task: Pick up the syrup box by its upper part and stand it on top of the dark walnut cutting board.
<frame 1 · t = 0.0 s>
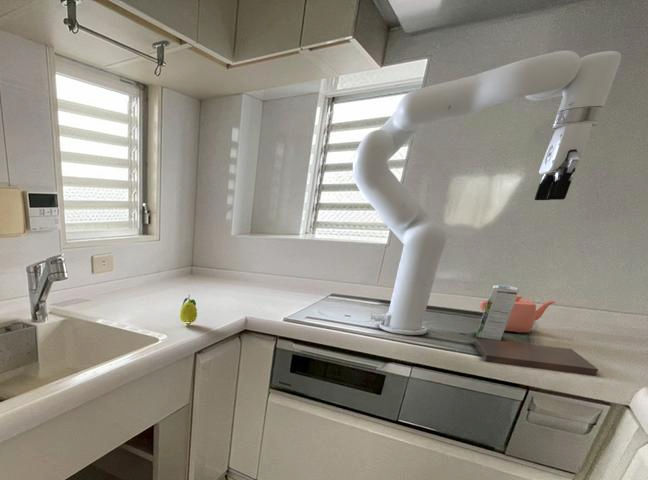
hand: (548, 199, 100), 37 cm above the countertop, tool pointing down, fingers open, 9 cm apart
cutting board: (527, 357, 101), on the countertop
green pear: (188, 325, 131), on the countertop
syrup box: (488, 337, 117), on the countertop
teapot: (508, 329, 125), on the countertop
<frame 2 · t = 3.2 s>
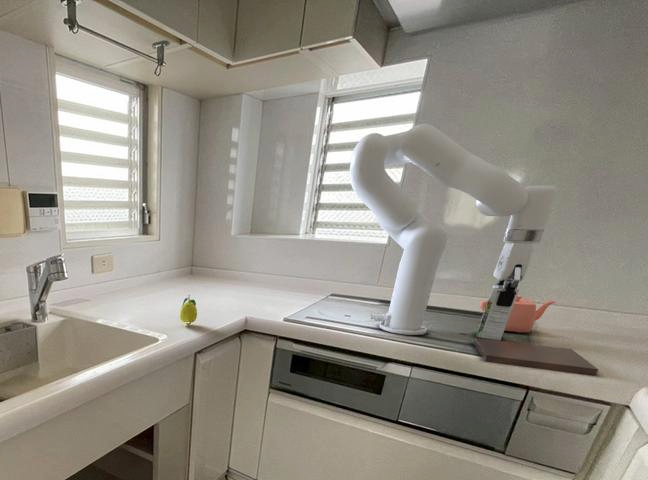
hand: (500, 303, 113), 10 cm above the countertop, tool pointing down, fingers closed on syrup box, 6 cm apart
syrup box: (488, 337, 117), on the countertop, touching gripper
everything else where it was.
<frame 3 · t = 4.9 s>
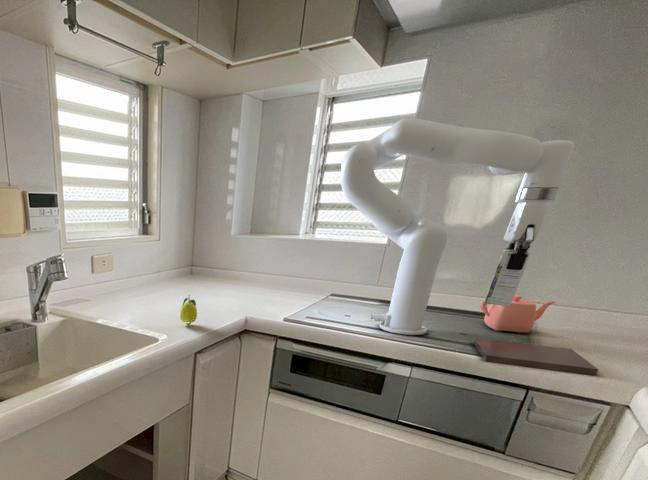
hand: (510, 267, 110), 20 cm above the countertop, tool pointing down, fingers closed on syrup box, 6 cm apart
syrup box: (497, 304, 114), point 10 cm above the countertop, touching gripper
everything else where it was.
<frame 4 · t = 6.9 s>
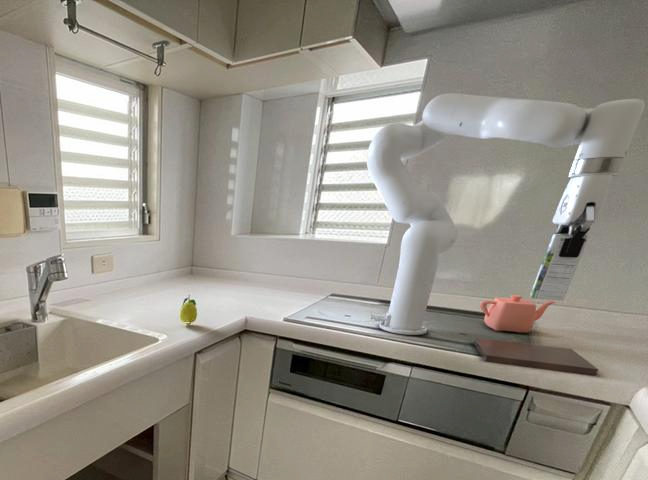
hand: (562, 254, 93), 25 cm above the countertop, tool pointing down, fingers closed on syrup box, 6 cm apart
syrup box: (546, 298, 97), point 15 cm above the countertop, touching gripper
everything else where it was.
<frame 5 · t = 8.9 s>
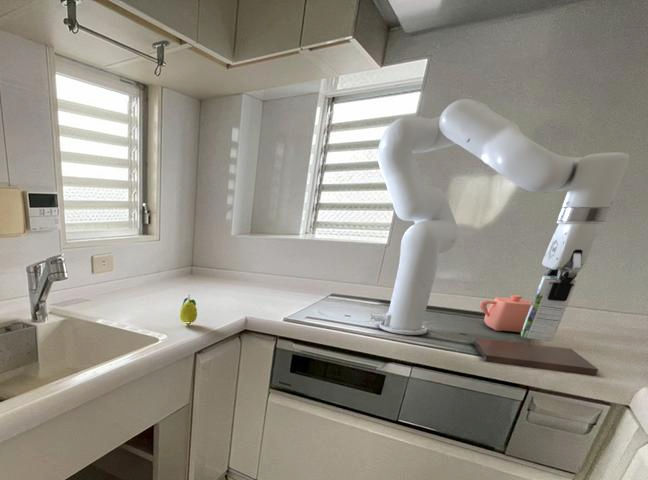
hand: (551, 296, 95), 15 cm above the countertop, tool pointing down, fingers closed on syrup box, 6 cm apart
syrup box: (535, 338, 99), point 5 cm above the countertop, touching gripper
everything else where it was.
when the fingers open (12 cm above the countertop, at t = 10.5 s): syrup box stays where it is, resting on cutting board.
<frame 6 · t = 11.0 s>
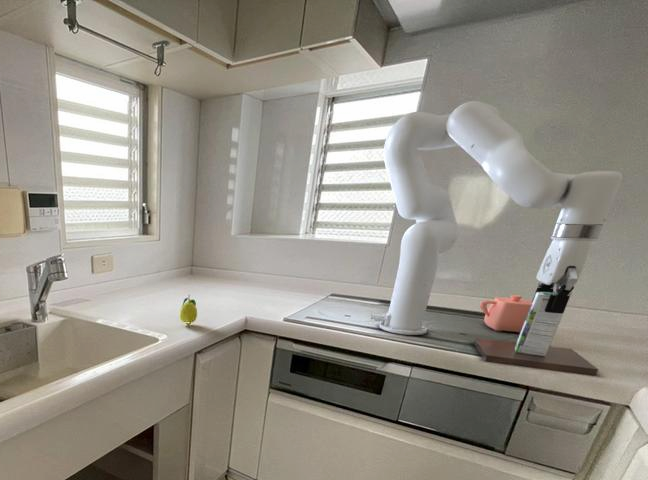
hand: (546, 308, 96), 13 cm above the countertop, tool pointing down, fingers open, 9 cm apart
syrup box: (529, 352, 101), point 1 cm above the countertop, touching cutting board
everything else where it was.
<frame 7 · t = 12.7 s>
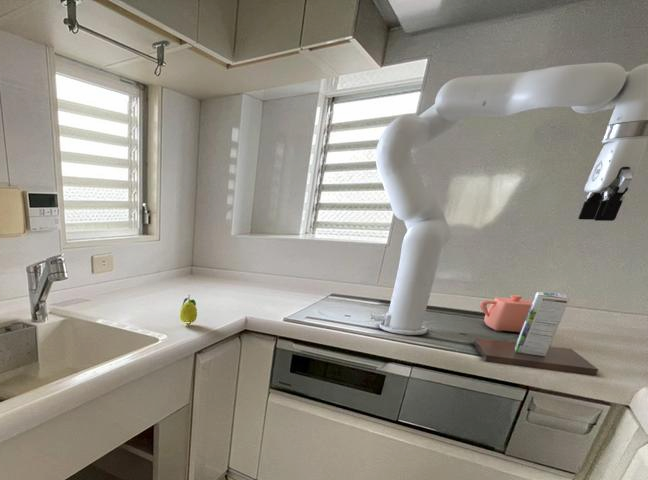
hand: (595, 219, 92), 32 cm above the countertop, tool pointing down, fingers open, 9 cm apart
nothing on the countertop moved.
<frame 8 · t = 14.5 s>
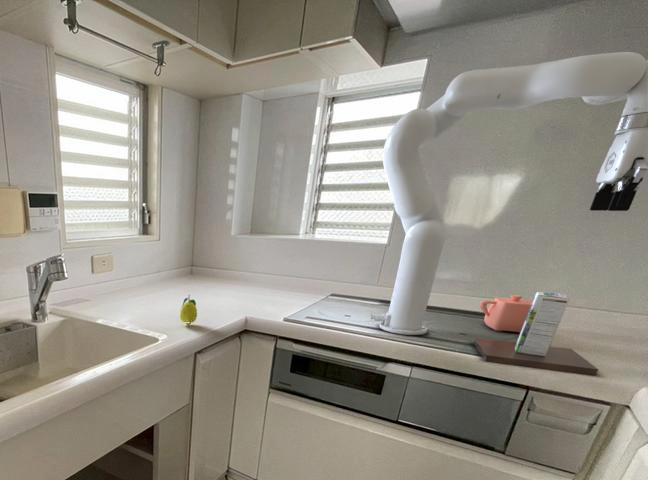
hand: (607, 210, 93), 34 cm above the countertop, tool pointing down, fingers open, 9 cm apart
nothing on the countertop moved.
at the end: syrup box inside the target area on the cutting board (0.0 cm from its centre), point 1.3 cm above the cutting board's base; syrup box tilted 0° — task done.
